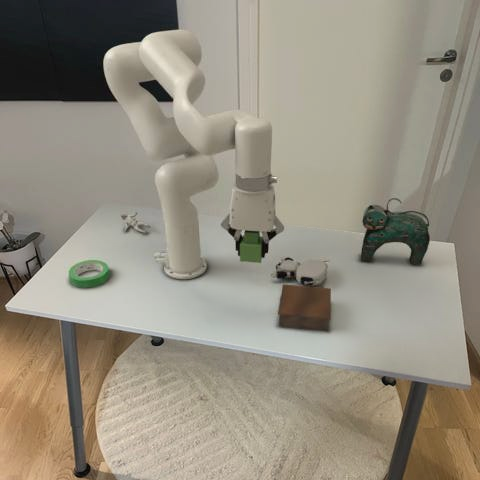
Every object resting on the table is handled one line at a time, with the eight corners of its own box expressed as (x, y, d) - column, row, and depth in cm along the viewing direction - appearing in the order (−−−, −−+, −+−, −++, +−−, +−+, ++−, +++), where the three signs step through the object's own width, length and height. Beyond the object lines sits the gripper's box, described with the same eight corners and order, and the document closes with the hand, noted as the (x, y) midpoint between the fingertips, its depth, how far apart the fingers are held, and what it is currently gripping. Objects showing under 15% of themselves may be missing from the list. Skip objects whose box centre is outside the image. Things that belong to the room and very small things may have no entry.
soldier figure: (138, 240, 153) (111, 222, 155) (144, 243, 157) (117, 226, 160) (151, 220, 152) (123, 202, 155) (156, 224, 157) (129, 206, 159)
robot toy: (268, 285, 131) (320, 294, 126) (268, 272, 129) (320, 280, 123) (282, 264, 140) (331, 272, 135) (282, 251, 137) (332, 258, 132)
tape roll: (109, 265, 139) (107, 257, 137) (110, 285, 130) (108, 277, 129) (71, 269, 137) (69, 262, 135) (69, 290, 128) (67, 282, 127)
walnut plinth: (277, 327, 115) (278, 312, 113) (281, 298, 125) (282, 284, 122) (328, 332, 114) (330, 317, 111) (328, 302, 124) (330, 288, 121)
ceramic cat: (355, 262, 139) (366, 200, 127) (355, 252, 144) (365, 190, 132) (423, 268, 137) (442, 205, 124) (420, 257, 142) (438, 195, 129)
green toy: (239, 261, 110) (239, 234, 105) (243, 250, 114) (243, 224, 109) (260, 263, 109) (261, 235, 105) (263, 252, 113) (264, 225, 109)
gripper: (293, 176, 101) (288, 249, 113) (217, 172, 104) (220, 243, 115) (290, 190, 96) (285, 265, 107) (210, 184, 98) (214, 259, 109)
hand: (252, 253), depth 111 cm, fingers closed on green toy, 5 cm apart
